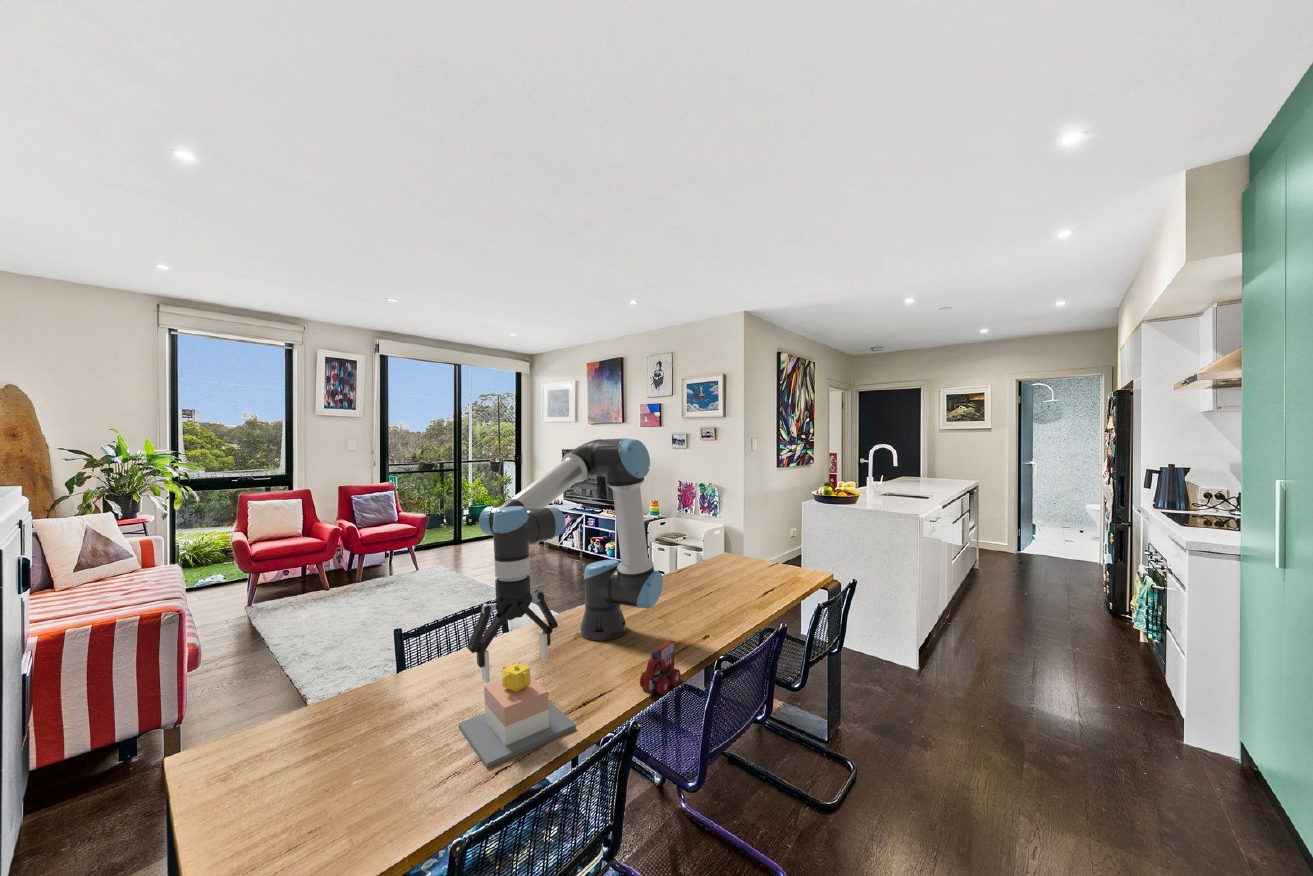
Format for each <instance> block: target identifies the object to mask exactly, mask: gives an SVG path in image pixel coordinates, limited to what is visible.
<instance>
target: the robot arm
mask: <svg viewBox="0 0 1313 876" xmlns="http://www.w3.org/2000/svg"><path fill="white" fill-rule="evenodd" d="M648 450H649V449H647V447H646V444H644V443H643V442H642V441H640V440H639V439H637V438H634V439H633V438H607V439H602V438H601V439H593V440H590V441H588V442H584V443H583V444H581V445H579V446H577V447H575V448H574V449H573V450H571V451H569V452H567V454H565V455H563V456H562V458H561V461H560V463H559V464H557V465H555V466H554V467H553V468H551V469H550V470H548V471H547V472H546V473H544V474H543V475H542V476H539V478H537V479H536V480H534V481H533V482H532V483H531V484H529V485H527V486H526V487H524V489H522V490H521V491H519V492H518V493H517V494H515V495H514V496H512V497H511V498H509V499H508V500H506V501H505V502H504V503H502V504H501V505H491V506H487V507H485V508H483V509H482V511H481V513H480V515H479V517H478V523H479V524H478V525H479V529H480V531H482V532H483V533H484V534H485V535H488V536H493V551H494V577H495V578H496V579H495V580H494V582H495V602H494V603H486V602H483V603H482V604H481V606H480V607H481V608H480V615H479V617H478V620H477V622H476V624H475V626H474V629H473V632H472V634H471V636H470V640H469V641H468V643H467V647H466V648H467V650H469V652H471V653H472V654H475V653H476V664H477V666H478V667H479V668H481V679H482V680H483V682H485V683H486V684H488V683H490V682H491V678H490V677H491V674H490V672H491V671H490V651H488V650H487V649H488V647H489V646H490V644H491V643H492V641H493V640H494V638H495V637H496V635H497V633H498V632H499V630H500V629H501V628H502V626H503V625H504V624H505V623H506V621H513V620H514V619H516V618H517V619H518V618H519V619H520V618H523V616H524V615H526V616H527V617H528V618H529V619H531V621H533V622H534V623H535V624H536V625H537V626H538V627H539V628H540V629H541V630H539V631H538V644H539V648H538V649H539V660H540V661H542V662H543V663H544V664H546V663H548V662H549V658H548V657H549V656H548V647H549V646H551V634H553V629H556V628H558V626H559V624H558V622H557V620H556V618H555V617H554V615H553V613H552V611H551V609H550V607H549V606H548V604H547V602H546V599H545V594H544V592H542V591H540V590H538V589H537V590H534V593H531V576H530V575H529V574H531V573H530V572H531V569H530V567H531V565H530V546H532V545H534V544H538V543H542V542H544V541H548V540H553V538H556V537H559V536H560V535H562V533H564V531H565V528H566V517H565V515H564V513H563V512H562V511H561V509H559V508H558V507H556V506H551V507H548V506H549V504H551V503H552V502H554V501H555V500H557V498H558V497H560V496H561V495H562V494H564V493H565V492H566V491H567V490H569V489H570V488H571V487H572V486H574V485H575V484H576V483H582V482H584V481H585V480H586V479H590V478H592V477H605V479H606V485H607V486H608V487H609V488H610V489H611V490H612V495H613V496H612V497H613V503H614V506H613V507H614V512H615V521H616V529H617V539H618V544H619V545H618V546H619V555H620V561H619V560H617V559H604V560H599V561H598V560H597V561H594V562H592V563H589V564H587V565H586V566H585V568H584V574H583V576H584V578H583V581H584V605H585V606H584V613H583V617H582V620H581V624H580V626H579V627H580V632H579V633H580V635H581V636H582V638H584V639H587V640H590V641H599V642H600V641H610V640H614V639H617V638H620V637H621V636H624V634H625V633H626V631H627V623H626V620H625V617H624V613H623V610H622V608H621V605H623V606H627V607H635V608H637V609H651V608H653V607H654V606H655V605H657V602H658V601H659V600H660V597H661V594H662V592H663V591H662V590H663V582H664V580H663V575H662V573H661V572H660V571H657V570H655V567H654V562H653V560H651V559H650V558H649V555H648V547H647V537H646V528H645V520H644V519H645V518H644V510H643V499H642V491H641V485H642V484H643V483H644V482H645V477H646V476H647V475H648V474H649V472H650V466H651V458H650V454H649V451H648ZM533 601H534V602H536V604H537V606H538V608H539V609H540V612H541V613H542V615H543V617H544V618H545V620H546V622H547V623H546V622H545V621H543V620H542V619H541V618H540V616H539V615H537V614H536V613H535V612H534V610H532V609H531V608H530V606H531V604H532V602H533ZM494 611H497V612H495V615H494V616H493V620H492V621H491V623H490V625H489V626H488V623H489V621H490V617H491V615H492V614H493V613H494ZM487 626H488V627H487Z"/></svg>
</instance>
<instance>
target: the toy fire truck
mask: <svg viewBox="0 0 1313 876" xmlns="http://www.w3.org/2000/svg"><path fill="white" fill-rule="evenodd" d="M675 650H676V642H675V640H672V639H669V640H668V641H666V642H665V643H663V644H662V645H660V646H658V647H657V649H655V650H653V651H652V652H651V655H650V657H651V658H649V659H648V662H647V666H646V669H645V670H644V671H643V672H642V674H641V675H640V678H639V686H640V687H641V688H642V689H644V690H645V691H647V692H650V693H651V692H652V691H653V690H654V689H656V691H657V693H658V694H660V695H663V696H664V695H666V694H667V693H668V691H669V689H670V686H672V687H676V686H677V685H679V684H680V680H681V675H682V674H681V671H680V669H677V668H675Z"/></svg>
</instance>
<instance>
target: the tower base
mask: <svg viewBox="0 0 1313 876" xmlns="http://www.w3.org/2000/svg"><path fill="white" fill-rule="evenodd" d="M483 687H484V688H483V689H484V691H483V693H484V695H483V696H484V713H482V714H479V715H477V716H474V717H472V718H469V719H467V720H466V719H465V720H463V721H460V722H458V728H459V730H460V732H461V733H462V734H463V736H464V737H465V739H466V740H467V741H468V744H469V745H470V747H471V748H472V749H473V751H474V752H475V754H476V755H477V756H478V758H479V759H480V761H481V762H482V764H483V765H484V766H485V768H486V769H489V768H491V767H494V766H495V765H498V764H500V763H503V762H505V761H506V760H509V759H511V758H514V757H517V756H519V755H521V754H523V753H525V752H528V751H529V750H531V749H535V748H537V747H539V746H542V745H543V744H545V743H547V742H549V741H552V740H554V739H557V738H559V737H560V736H563V735H565V734H567V733H571V732H573V731H575V730H576V728H577V727H576V726H577V724H576V723H574V722H573V720H571V719H570V718H569V717H568V716H567V715H566V714H564V713H563V712H562V711H561V710H560V709H559V708H558V707H557V706H556V705H555V704H553V703H552V702H551V701H550V700H549V691H548V689H546V688H545V687H543V685H541V684H540V683H539V682H538V681H537V680H536V679H534V677H532V676H531V683H530V685H528V686H527V688H523V689H521V690H520V691H519V692H518V693H514V691H512V690H506V689H507V688H505V687H503V685H502V679H500V680H497V681H494V682H491V683H489V684H488V683H487V684H486V685H484V686H483Z"/></svg>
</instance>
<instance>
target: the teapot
mask: <svg viewBox="0 0 1313 876" xmlns="http://www.w3.org/2000/svg"><path fill="white" fill-rule="evenodd" d="M531 677H532V676H531V669H530V667H529V666H527V665H524V664H521V663H516V662H515V663H513V664H511V665H509V666H507V665H506V666H505V665H504V666H503V667H502V676H501V678H502V679H501V680H502V685H503V687H505V688H507V689H506V690H512V691H514V693H518V692H519V691H520V690H521V689H523V688H527V686H528V685H530V683H531Z"/></svg>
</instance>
